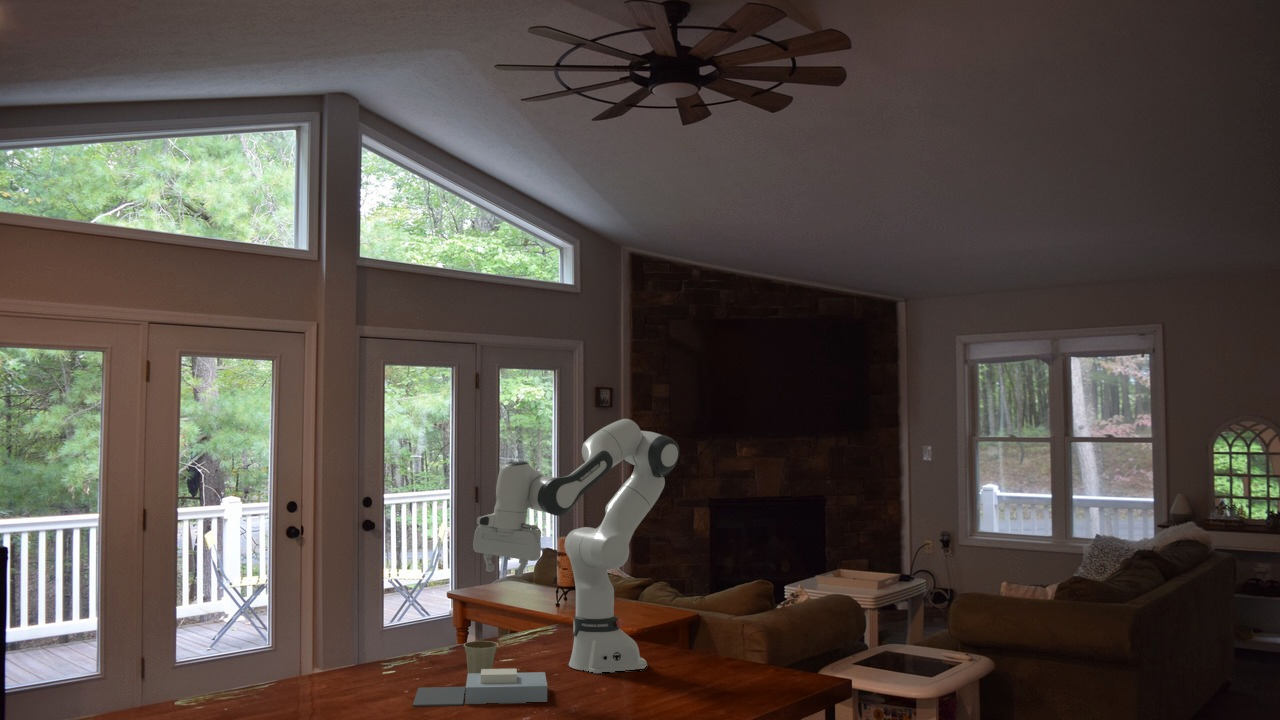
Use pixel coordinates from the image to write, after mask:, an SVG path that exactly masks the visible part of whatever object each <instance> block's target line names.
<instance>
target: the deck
mask: <svg viewBox="0 0 1280 720" xmlns="http://www.w3.org/2000/svg"><path fill="white" fill-rule="evenodd" d="M480 682H481V673H468V672H467V676H466V684H465V695H464V700H465V701H464V704H465V705H485V704H486V703H499V704H527V703H526V702H547V703H548V682H547V677H546V672H545V671H539V672H538V671H537V672H534V671H533V672H517V682H513V683H480ZM486 705H487V704H486Z"/></svg>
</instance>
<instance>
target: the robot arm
mask: <svg viewBox="0 0 1280 720" xmlns="http://www.w3.org/2000/svg"><path fill="white" fill-rule="evenodd" d="M581 447H582V448H581V455H582V459H583V461H584V463H582V464H581V465H580V466H579V467H577V468H576V469H575V470H574V471H572V472H570V474H569V475H566V476H561V477H559V476H558V477H556V476H555V477H553V476H548V475H544V474H543V473H541V472H539V471H537V470H536V469H534V467H532V466H531V464H530V463H529V462H527V461H522V460H519V461H508V462H505V463H503V464H502V465H501V467H500V469H499V473H498V477H497V481H496V488H495V489H496V490H495V496H496V502H495V505H494V509H493V513H490V514H486V515H483V516H478V517H477V520H476V524H477V525H478V526H476V529H475V530H474V534H473V543H472V549H473V551H474V552H475V553H480V554H483V560H484V564H485V565H486V567H485V571H486V572H489V573H491V572H494V571H495V565H496V564H493V562H492V558H493V556H497V557H504V558H511V559H517V560H518V563H519V564H520V565H518V568H515V569H514V576H515V577H518V578H519V577H523V576H524V570H525V568H526V567H527V565H528V563H529V562H535V561H539V560H540V558H541V554H542V553H541V552H542V543H541V540H542V539H541V538H542V530H541V528H540V527H538V526H537V525H535V524H529V523H527V516H528V515H527V514H528V509H530V510H534V511H538V512H543V513H547V514H549V515H553V516H557V517H560V516H564V515H566V514H568V513H569V512H571V510H572V509H573V508H574V507H575V506H576V504H577V502H578V501H579V499H580V498H581V497H582V496H583V495H584V494H585V493H586V492H587V491H588V490H590V489H591V488H592V487H593V486H594V485H596V484H597V483H598V482H599V481H601V480H602V478H604V477H605V476H606V475H607V474H608V473H609V472H610V470H611V469H613V468H614V467H615V466H617V465H618V464H619V463H621V462H624V463H626V464H630V465H633V469H632V470H633V471H632V473H631V476H629V478H627V480H626V481H625V482H624V483H623V484H622V485H621V486H620V487H619V489H618V490H617V491H616V493H615V494H614V495H612V497H611V499H609V501H608V503H606V505H605V508H604V511H605V516H604V517H603V519H602V522H601V523H600V525H598V526H597V527H596V528H594V527H589V526H584V527H579V528H576V529H572V530H571V531H570V532H568V534H567V536H566V538H564V540H565V541H564V544H563V545H564V551H565V554H566V555H567V557H568V559H569V561H570V564H571V565H570V566H571V571H572V573H573V580H574V584H575V585H574V587H575V614H574V615H573V620H572V621H573V623H572V624H573V625H572V626H573V627H572V628H573V632H572V633H573V646H572V650H571V651H572V652H571V655H570V659H569V662H568V667H570V668H572V669H574V670H579V671H583V670H584V671H583V672H588V671H589V672H588V673H591V672H593V673H592V674H603V673H602V672H610V673H616V672H615V671H625V670H635V669H644V668H645V667H646V666H647V667H648V663H647V660H646V659H644V658H643V657H642V656H640V655H641V654H640V649H639V646H638V644H637V642H636V641H635V640H634V639H633V638H632V637H630V636H629V635H628V634H627V633H625V632H624V631H623V630H622V629H621V628H622V627H623V626H624V624H625V623H624V621H623V620H622V619H621V618H619V617H618V616H616V615H614V613H615V611H614V609H615V589H614V585H613V584H612V582H611V580H610V578H609V574H608V570H616V569H620V568H621V567H623V566H624V565H625V564H626V563H627V561H628V559H629V556H630V546H629V544H630V542H631V540H632V537H633V535H634V533H635V531H636V529H637V528H638V526H639V525H640V524H641V522H642V521H643V520H644V518H645V517H646V516H647V514H648V513H649V512H650V511H651V509H652V508H653V506H654V505H655V504H656V502H657V501H658V500H659V498H660V495H661V494H662V492H663V490H664V489H665V488H664V487H665V484H666V481H665V477H667V476H668V475H669V474H670V473H671V471H672V470H673V469H674V468H675V466H676V464H677V462H678V460H679V457H680V447H679V445H678V443H677V442H676V441H675V440H674V439H673V438H671V437H669V436H667V435H663V434H660V433H657V432H653V431H647V430H641V428H640V426H639V425H638V424H637V423H636V422H635V421H634V420H632V419H629V418H623V419H619V420H616V421H614V422H611V423H610V424H607V425H606V426H604V427H602V428H600V429H599V430H597V431H596V432H594V433H593V434H592V435H590V436H589V437H588V438H587V439H586V440H585V441H584V442H583V444H582V446H581ZM625 672H626V671H625Z"/></svg>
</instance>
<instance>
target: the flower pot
mask: <svg viewBox="0 0 1280 720" xmlns="http://www.w3.org/2000/svg"><path fill="white" fill-rule="evenodd" d="M463 647H464V651H465V655H466V665H467V674H468V673H481V669H494V668H493V667H494V660H495V656H496V652H497V649H498V647H499V643H498V642H495V641H490V640H489V641H488V640H476V641H468V642H465V643H464V644H463Z"/></svg>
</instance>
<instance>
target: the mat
mask: <svg viewBox="0 0 1280 720" xmlns="http://www.w3.org/2000/svg"><path fill="white" fill-rule="evenodd" d="M465 693H466V686H444V687H443V686H434V687H433V686H430V687H429V686H427V687H425V686H424V687H417V690H416V693H415V697H414V699H413V703H412V707H442V706H443V707H444V706H445V707H446V706H447V707H448V706H450V707H451V706H453V707H454V706H456V707H457V706H464V702H465V701H464V700H465V695H464V694H465Z"/></svg>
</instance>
